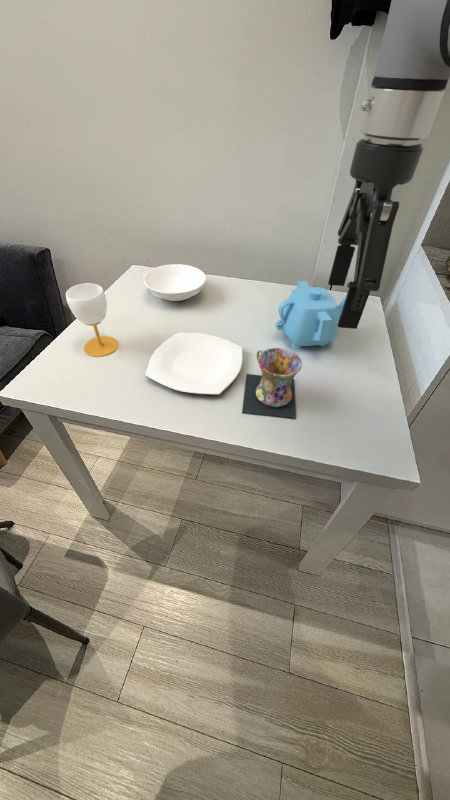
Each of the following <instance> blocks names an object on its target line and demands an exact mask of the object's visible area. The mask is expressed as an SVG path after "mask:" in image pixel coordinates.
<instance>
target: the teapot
mask: <svg viewBox="0 0 450 800" xmlns="http://www.w3.org/2000/svg"><path fill="white" fill-rule="evenodd" d="M309 285H310V284H309V283H308V282H307V281H306V280H305V281H304V280H301V281H298V283H297V286H296V288H293V290H292V291H291V293H290V294H289V295H288V297H287V299H284V300H282V301H281V302H280V304H279V305H278V315H279V318H280V319H279V320H277V321H276V322H275V328H276V330H279V331H283V332H284V334H285V336H286V337H287V338H288V339H289V341H290V342H291V346H292V347H293V348H296V349H300V348H302V347H311V346H312V347H313V346H319V347H325V346H326V345H328V344H330V343H331V342H332V341H333V340H334V339H335V338H336V336H337V333H338V328H339V327H338V321H339V318H340V315H341V312H342V309H343V305H344V302H345V299H346V296H347V294H346V295H345V296H344V297H343V298H342V300H341V301H340V303H339V304H338V303H337V301H336V299H335V298H334V296H333V295H332V294H331V293H330V292H329V291H328V290H327V289H325V288H323V287H321V286H319V287H318V286H317V287H316V286H315V287H313V286H312V287H310V286H309Z"/></svg>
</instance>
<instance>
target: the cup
mask: <svg viewBox="0 0 450 800" xmlns="http://www.w3.org/2000/svg"><path fill="white" fill-rule="evenodd" d="M65 298H66V303H67V305H68V307H69V310H70V311H71V313H72V314H73V316H74V317H75V318H76V319H77V320H78V321H79V322H80V323H81V324H84V325H86V326H89V327H90V326H92V327H93V330H94V333H95V336H96V337H92V338H91V339H88V340H87V341H86V343H85V344H83V351H84V352H85V354H86V355H88V356H90V357H95V358H98V357H100V358H101V357H105V356H108V355H111V354H112V353H114V352H115V351H116V350H117V349H118V347H119V341H118V340H117V338H114V337H113V336H109V335H100V332H99V328H98V325H100V324H101V323H102V322H103V320H105V319H106V314H107V309H108V301H107V295H106V294H105V291H104V289H103V288H102V286H101V285H99V284H97V283H93V282H87V283H86V282H85V283H80V284H75V285H73V286H71V287H69V289H66V292H65Z"/></svg>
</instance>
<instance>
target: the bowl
mask: <svg viewBox="0 0 450 800" xmlns="http://www.w3.org/2000/svg"><path fill="white" fill-rule="evenodd" d="M206 281H207V277H206V274H205V272H204V271H203V270H201V269H199V268H197V267H195V266H192V265H190V264H189V265H187V264H180V263H173V264H171V263H170V264H163V265H160V266H156V267H154V268H151V269H150V270H148V271H147V272H146V273H145V274H144V276H143V281H142V283H143V284H144V285H145V286H146V287H147V288H148V289H149V292H150V293H151V294H152V295H154V296H155V297H158V298H159V299H163V300H165V301H169V302H170V301H171V302H181V301H185V300H188V299H190V298H192V297H195V296H196V295H197V294H199V293H200V292H201V290H202V288H203V286H204V285H205V283H206Z"/></svg>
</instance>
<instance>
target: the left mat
mask: <svg viewBox="0 0 450 800" xmlns="http://www.w3.org/2000/svg"><path fill="white" fill-rule="evenodd" d="M261 378H262V374H253V373H246V376H245V383H244V391H243V392H244V393H243V401H242V410H241V413H242V414H244V415H245V414H246V415H253V416H254V415H255V416H264V417H271V418H272V417H273V418H280V419H290V420H291V419H292V420H296V419H297V412H296V411H297V408H296V384H295V383H296V381H295V378H293V380H292V382H291V391H292V399H291V400H290V402H289V403H288V404H286V405H284V406H281V407H271V406H268V405H265V404H263V403H262V402H261V401H260V400H259V399H258V398H257V396H256V388H257V386H258V385H259V384H260V382H261Z"/></svg>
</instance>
